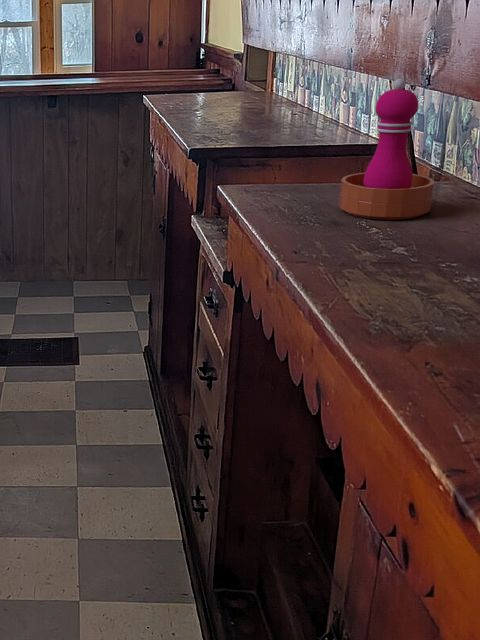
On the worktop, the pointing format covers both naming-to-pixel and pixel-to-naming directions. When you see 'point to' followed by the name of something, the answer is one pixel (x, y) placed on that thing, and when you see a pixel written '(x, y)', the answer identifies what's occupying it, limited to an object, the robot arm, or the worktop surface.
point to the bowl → (385, 198)
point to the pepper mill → (392, 139)
